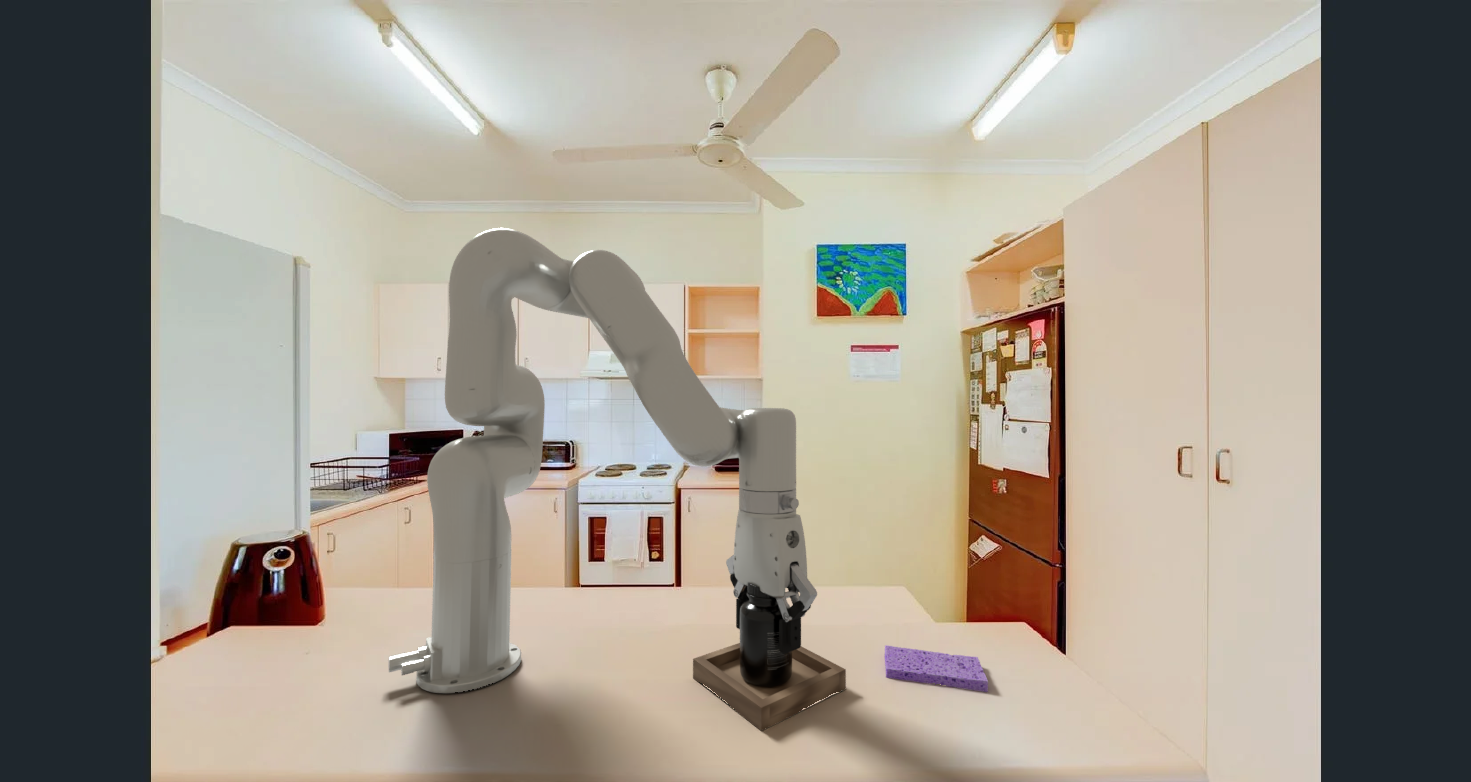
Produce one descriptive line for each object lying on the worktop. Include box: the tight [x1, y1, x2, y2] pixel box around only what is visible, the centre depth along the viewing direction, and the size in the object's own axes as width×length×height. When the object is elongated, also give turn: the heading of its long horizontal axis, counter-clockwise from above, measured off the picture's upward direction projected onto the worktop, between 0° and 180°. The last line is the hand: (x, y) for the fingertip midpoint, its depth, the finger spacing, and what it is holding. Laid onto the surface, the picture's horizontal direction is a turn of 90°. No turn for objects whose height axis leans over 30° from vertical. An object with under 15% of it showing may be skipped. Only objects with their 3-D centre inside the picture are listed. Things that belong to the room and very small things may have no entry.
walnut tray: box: [692, 642, 847, 732], centre depth 66 cm, size 14×14×2 cm
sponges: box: [884, 644, 989, 693], centre depth 69 cm, size 7×13×2 cm, turn 74°
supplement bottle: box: [739, 582, 792, 687], centre depth 66 cm, size 7×7×12 cm
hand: (767, 637), depth 66 cm, fingers open, 8 cm apart
